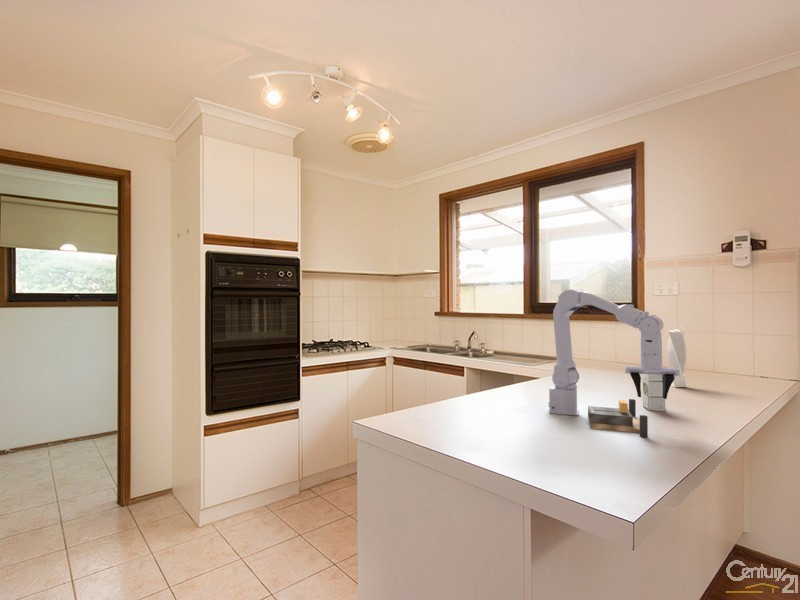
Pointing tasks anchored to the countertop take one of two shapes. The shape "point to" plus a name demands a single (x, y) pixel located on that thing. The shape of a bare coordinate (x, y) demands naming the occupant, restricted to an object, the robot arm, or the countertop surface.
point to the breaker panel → (618, 428)
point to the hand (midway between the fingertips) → (651, 397)
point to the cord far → (632, 407)
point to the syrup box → (653, 392)
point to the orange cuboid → (623, 406)
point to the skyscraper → (677, 355)
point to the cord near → (643, 426)
